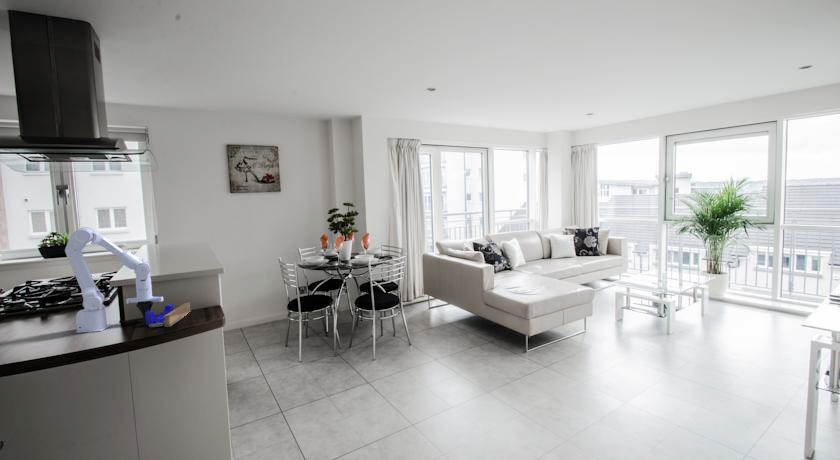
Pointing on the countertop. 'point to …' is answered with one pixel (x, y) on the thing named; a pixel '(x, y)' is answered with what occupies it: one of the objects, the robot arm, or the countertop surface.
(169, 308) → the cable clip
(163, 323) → the mounting rail
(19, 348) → the countertop surface
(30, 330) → the countertop surface
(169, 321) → the backboard
